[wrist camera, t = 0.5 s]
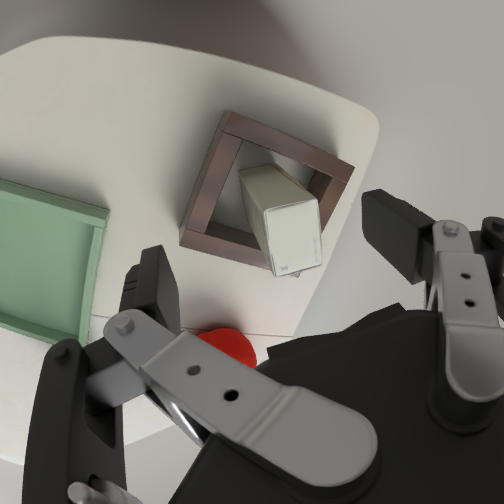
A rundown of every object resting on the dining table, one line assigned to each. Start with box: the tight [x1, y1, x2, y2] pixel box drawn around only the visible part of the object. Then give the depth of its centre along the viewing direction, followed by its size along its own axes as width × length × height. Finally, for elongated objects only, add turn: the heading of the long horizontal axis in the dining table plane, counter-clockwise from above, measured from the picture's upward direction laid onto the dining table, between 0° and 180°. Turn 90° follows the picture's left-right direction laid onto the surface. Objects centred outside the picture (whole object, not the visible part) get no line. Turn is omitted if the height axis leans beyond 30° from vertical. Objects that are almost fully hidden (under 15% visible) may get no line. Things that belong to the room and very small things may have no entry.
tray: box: [0, 179, 110, 347], centre depth 32 cm, size 20×16×3 cm
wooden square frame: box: [179, 109, 355, 277], centre depth 33 cm, size 14×14×4 cm
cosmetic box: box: [239, 164, 323, 278], centre depth 30 cm, size 6×4×12 cm
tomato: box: [197, 328, 257, 369], centre depth 41 cm, size 9×9×8 cm
